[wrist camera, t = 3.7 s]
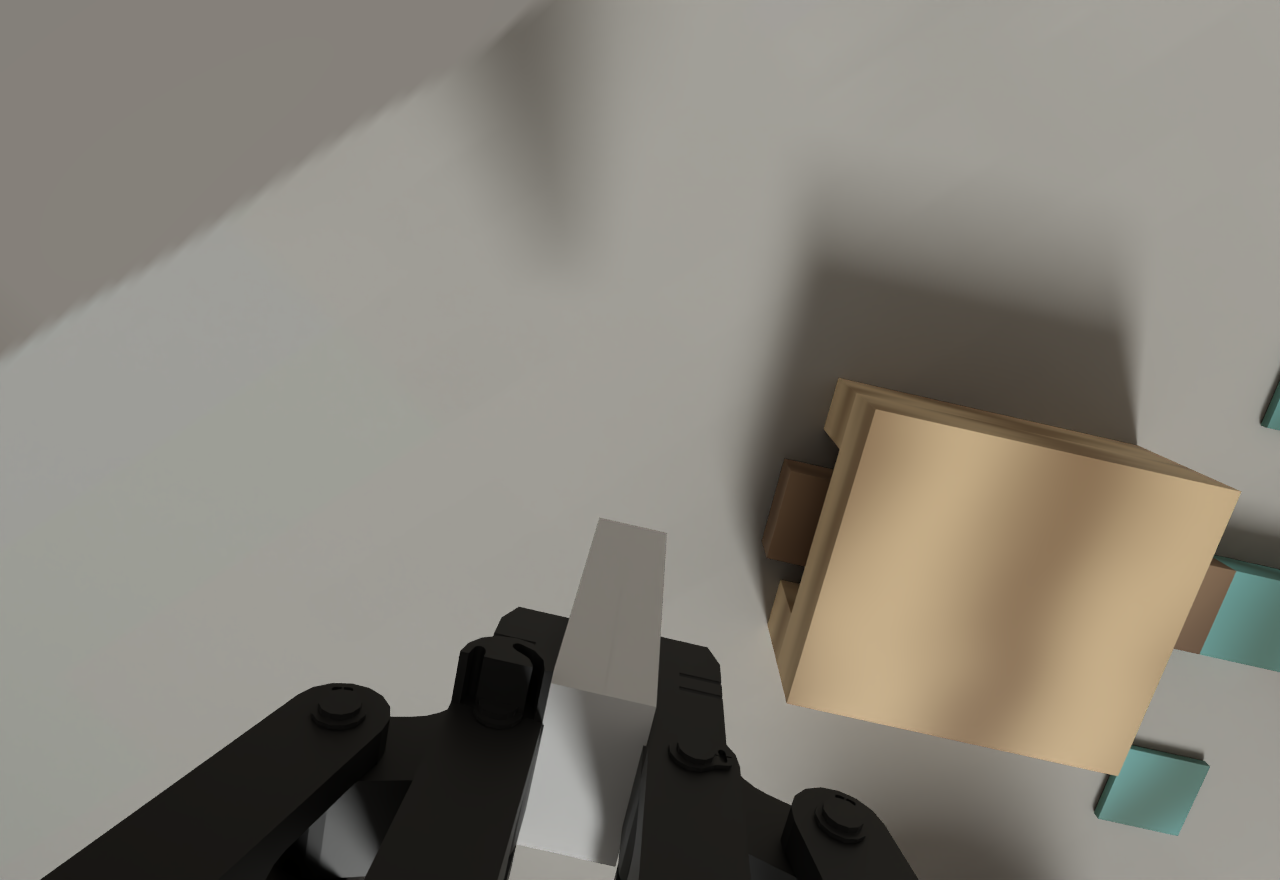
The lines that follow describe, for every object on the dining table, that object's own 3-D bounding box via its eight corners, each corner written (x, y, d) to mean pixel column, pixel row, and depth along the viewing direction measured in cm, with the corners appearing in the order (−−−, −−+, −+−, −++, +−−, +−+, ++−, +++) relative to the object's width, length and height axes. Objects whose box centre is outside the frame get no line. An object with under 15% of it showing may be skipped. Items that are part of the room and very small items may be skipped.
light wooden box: (767, 623, 28) (786, 703, 23) (837, 377, 26) (875, 409, 21) (1041, 683, 28) (1118, 776, 23) (1135, 444, 26) (1241, 491, 21)
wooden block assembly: (709, 728, 29) (715, 804, 25) (847, 230, 25) (880, 229, 21) (1355, 870, 29) (1459, 965, 26) (1607, 404, 25) (1778, 435, 21)
